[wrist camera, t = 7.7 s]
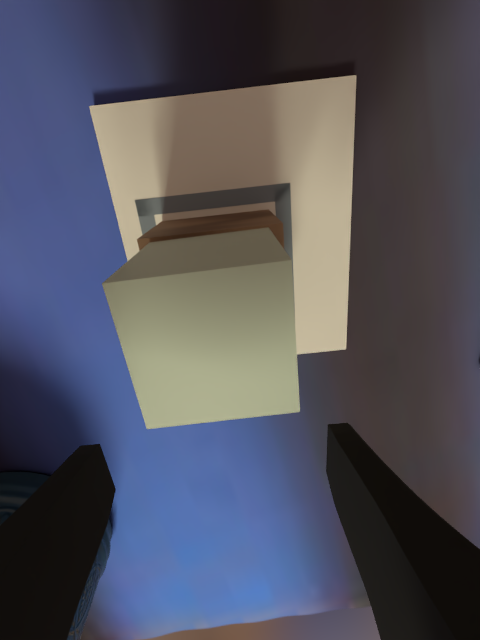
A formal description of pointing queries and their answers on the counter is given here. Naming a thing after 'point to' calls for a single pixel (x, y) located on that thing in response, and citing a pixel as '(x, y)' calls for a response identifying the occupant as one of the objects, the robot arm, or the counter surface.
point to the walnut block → (213, 226)
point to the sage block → (208, 328)
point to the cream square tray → (247, 178)
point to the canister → (10, 493)
